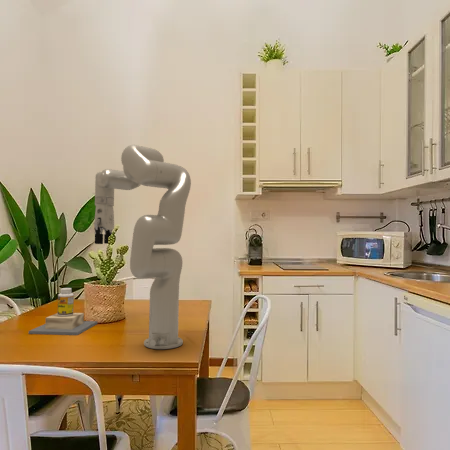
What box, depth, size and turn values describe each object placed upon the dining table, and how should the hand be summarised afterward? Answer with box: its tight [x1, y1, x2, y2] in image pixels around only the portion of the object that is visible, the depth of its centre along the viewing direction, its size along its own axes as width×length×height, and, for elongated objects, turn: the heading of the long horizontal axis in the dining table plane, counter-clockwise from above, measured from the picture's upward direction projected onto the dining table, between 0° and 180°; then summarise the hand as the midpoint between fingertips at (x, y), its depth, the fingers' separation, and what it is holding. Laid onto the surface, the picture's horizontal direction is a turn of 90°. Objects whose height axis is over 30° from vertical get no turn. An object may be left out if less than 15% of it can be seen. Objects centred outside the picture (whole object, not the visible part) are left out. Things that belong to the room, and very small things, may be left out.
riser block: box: [44, 312, 85, 329], centre depth 145 cm, size 10×10×4 cm
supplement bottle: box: [57, 287, 75, 317], centre depth 145 cm, size 6×6×10 cm
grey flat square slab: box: [28, 320, 98, 336], centre depth 145 cm, size 18×18×1 cm
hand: (103, 243), depth 156 cm, fingers open, 9 cm apart
